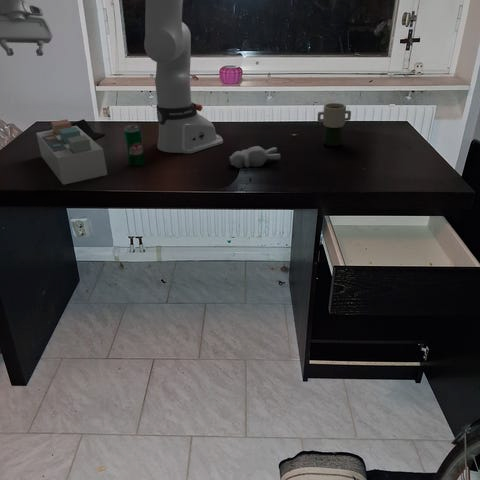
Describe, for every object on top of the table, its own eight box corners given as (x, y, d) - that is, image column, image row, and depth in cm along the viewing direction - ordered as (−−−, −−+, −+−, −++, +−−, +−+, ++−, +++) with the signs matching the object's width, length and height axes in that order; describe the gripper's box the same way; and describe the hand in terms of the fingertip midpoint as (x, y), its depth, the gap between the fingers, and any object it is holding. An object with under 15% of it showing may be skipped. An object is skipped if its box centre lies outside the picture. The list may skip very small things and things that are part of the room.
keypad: (81, 148, 168) (76, 124, 164) (107, 174, 147) (102, 147, 143) (41, 156, 162) (35, 131, 158) (63, 184, 141) (57, 156, 137)
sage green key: (87, 149, 147) (84, 135, 145) (92, 154, 143) (89, 139, 141) (70, 153, 145) (67, 138, 143) (74, 158, 141) (71, 142, 139)
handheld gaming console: (89, 140, 170) (72, 116, 169) (77, 152, 173) (59, 128, 172) (107, 135, 180) (91, 112, 179) (95, 146, 183) (79, 123, 182)
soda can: (131, 168, 151) (126, 130, 145) (126, 163, 155) (121, 125, 149) (147, 165, 153) (142, 127, 147) (142, 160, 157) (137, 123, 151)
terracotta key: (69, 132, 162) (66, 119, 160) (73, 136, 158) (70, 123, 156) (54, 135, 160) (51, 122, 158) (57, 139, 156) (54, 125, 154)
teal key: (77, 140, 155) (75, 126, 152) (82, 145, 151) (79, 130, 149) (61, 144, 152) (58, 129, 150) (65, 148, 149) (62, 133, 146)
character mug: (345, 140, 168) (348, 102, 162) (351, 147, 162) (354, 107, 156) (314, 141, 168) (315, 103, 161) (318, 149, 162) (320, 109, 155)
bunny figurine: (227, 148, 153) (275, 140, 153) (230, 163, 155) (276, 155, 156) (230, 159, 145) (280, 150, 145) (233, 175, 147) (282, 166, 148)
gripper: (-20, 5, 147) (-6, 50, 148) (47, 9, 160) (59, 51, 161) (-25, 15, 152) (-11, 59, 153) (40, 18, 165) (52, 59, 166)
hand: (25, 55), depth 157 cm, fingers open, 8 cm apart
